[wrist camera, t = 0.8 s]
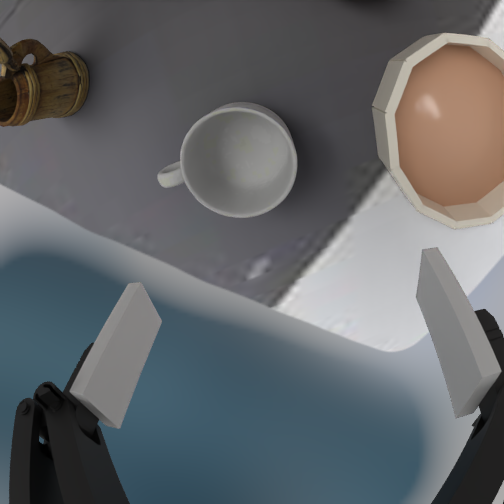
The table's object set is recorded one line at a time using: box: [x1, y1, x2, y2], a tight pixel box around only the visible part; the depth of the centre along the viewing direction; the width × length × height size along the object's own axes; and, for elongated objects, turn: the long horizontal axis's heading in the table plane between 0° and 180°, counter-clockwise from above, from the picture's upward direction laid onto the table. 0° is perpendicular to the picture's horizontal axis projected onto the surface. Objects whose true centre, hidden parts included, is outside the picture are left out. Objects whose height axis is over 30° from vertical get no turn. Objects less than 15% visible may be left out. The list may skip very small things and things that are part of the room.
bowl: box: [372, 33, 504, 229], centre depth 26 cm, size 22×22×5 cm
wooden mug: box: [0, 38, 89, 127], centre depth 21 cm, size 9×14×18 cm, turn 154°
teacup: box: [158, 102, 297, 218], centre depth 30 cm, size 14×11×8 cm
